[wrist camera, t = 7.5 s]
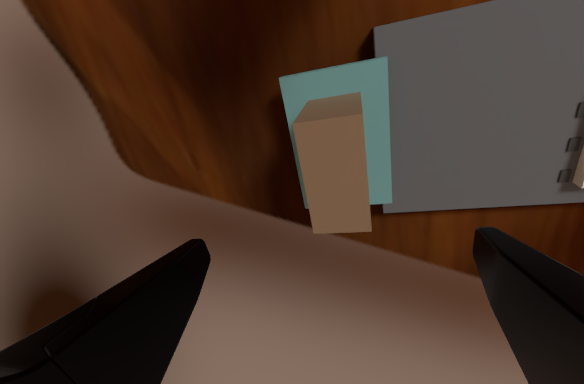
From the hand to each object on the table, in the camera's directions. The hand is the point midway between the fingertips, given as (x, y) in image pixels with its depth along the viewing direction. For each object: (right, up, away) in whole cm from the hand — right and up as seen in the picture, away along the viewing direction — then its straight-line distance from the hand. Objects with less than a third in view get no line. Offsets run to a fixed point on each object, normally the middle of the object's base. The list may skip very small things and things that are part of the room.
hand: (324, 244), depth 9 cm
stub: (+2, +5, +9) cm, 10 cm away
